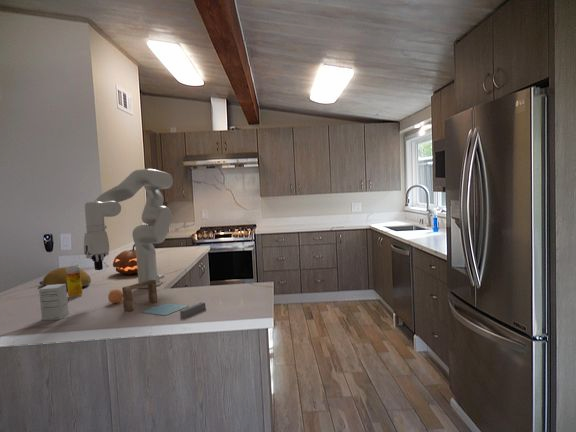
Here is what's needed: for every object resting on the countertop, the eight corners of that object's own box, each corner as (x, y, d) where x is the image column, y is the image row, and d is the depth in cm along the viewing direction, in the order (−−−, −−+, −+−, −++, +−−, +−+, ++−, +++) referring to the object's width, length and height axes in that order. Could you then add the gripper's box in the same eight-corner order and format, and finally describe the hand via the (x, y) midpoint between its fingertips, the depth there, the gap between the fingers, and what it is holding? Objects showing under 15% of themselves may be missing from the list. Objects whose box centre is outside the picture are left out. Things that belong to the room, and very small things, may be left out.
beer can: (76, 298, 194) (73, 266, 193) (65, 298, 195) (62, 267, 195) (85, 294, 200) (82, 264, 199) (74, 294, 201) (71, 264, 200)
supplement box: (50, 315, 167) (47, 284, 166) (69, 313, 168) (66, 283, 167) (41, 320, 160) (38, 289, 159) (61, 319, 160) (58, 287, 160)
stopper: (201, 308, 164) (201, 302, 164) (205, 308, 163) (205, 302, 163) (180, 317, 154) (180, 310, 154) (184, 317, 153) (183, 311, 153)
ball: (117, 300, 185) (116, 287, 184) (126, 301, 182) (125, 288, 181) (105, 304, 179) (104, 290, 179) (114, 305, 176) (113, 291, 176)
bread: (67, 292, 208) (65, 273, 207) (37, 286, 228) (35, 268, 228) (102, 284, 222) (100, 266, 222) (70, 279, 243) (69, 262, 242)
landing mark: (165, 303, 175) (165, 303, 175) (188, 306, 168) (188, 305, 168) (141, 312, 163) (141, 312, 163) (165, 315, 157) (165, 315, 157)
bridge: (124, 311, 167) (122, 287, 166) (152, 301, 180) (150, 279, 179) (129, 311, 165) (127, 288, 165) (157, 301, 178) (155, 280, 178)
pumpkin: (104, 277, 241) (101, 246, 240) (127, 269, 265) (125, 240, 264) (143, 277, 237) (141, 244, 235) (163, 268, 261) (161, 239, 260)
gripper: (104, 227, 191) (107, 266, 192) (74, 230, 178) (78, 272, 179) (115, 227, 188) (118, 267, 189) (85, 230, 175) (89, 273, 176)
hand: (98, 269), depth 184 cm, fingers closed
